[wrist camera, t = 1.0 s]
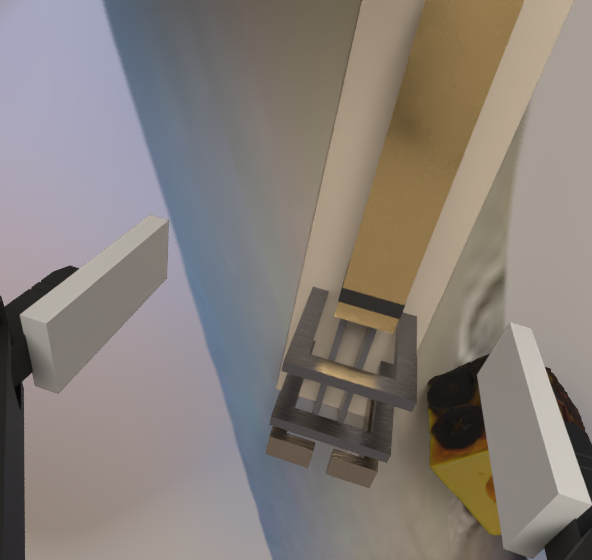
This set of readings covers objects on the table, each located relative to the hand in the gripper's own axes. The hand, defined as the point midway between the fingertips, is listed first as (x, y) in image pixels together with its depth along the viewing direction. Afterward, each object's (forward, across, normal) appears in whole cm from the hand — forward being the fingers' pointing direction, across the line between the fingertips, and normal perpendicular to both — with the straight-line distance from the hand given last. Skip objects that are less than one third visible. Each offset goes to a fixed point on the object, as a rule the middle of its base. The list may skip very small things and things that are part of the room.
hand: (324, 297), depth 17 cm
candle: (+20, +18, -19) cm, 33 cm away
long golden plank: (+16, +3, +1) cm, 17 cm away
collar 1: (+20, +3, -13) cm, 24 cm away
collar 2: (+19, +3, -19) cm, 27 cm away
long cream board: (+20, +3, -6) cm, 21 cm away
